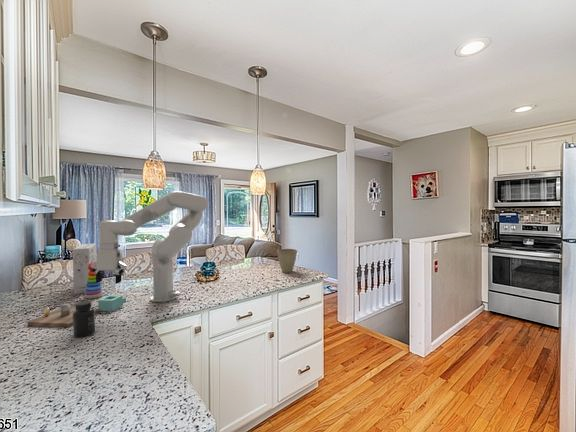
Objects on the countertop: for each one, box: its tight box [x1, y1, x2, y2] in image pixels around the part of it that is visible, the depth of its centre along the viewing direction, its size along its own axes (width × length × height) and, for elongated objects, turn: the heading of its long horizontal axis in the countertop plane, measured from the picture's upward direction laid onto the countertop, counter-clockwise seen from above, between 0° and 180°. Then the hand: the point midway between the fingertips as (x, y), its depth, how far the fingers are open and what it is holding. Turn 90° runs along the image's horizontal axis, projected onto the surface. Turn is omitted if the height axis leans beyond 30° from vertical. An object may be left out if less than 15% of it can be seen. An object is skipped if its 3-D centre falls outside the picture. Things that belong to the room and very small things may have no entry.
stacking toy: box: [84, 262, 103, 300], centre depth 149 cm, size 8×8×19 cm
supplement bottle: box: [72, 300, 96, 338], centre depth 106 cm, size 7×7×12 cm
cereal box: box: [72, 243, 98, 294], centre depth 165 cm, size 22×8×25 cm, turn 25°
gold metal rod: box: [44, 306, 50, 317], centre depth 119 cm, size 1×1×4 cm
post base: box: [27, 303, 100, 328], centre depth 121 cm, size 18×16×6 cm
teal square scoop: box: [97, 294, 127, 312], centre depth 136 cm, size 13×7×5 cm, turn 175°
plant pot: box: [276, 248, 298, 273], centre depth 207 cm, size 15×15×16 cm
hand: (108, 282), depth 132 cm, fingers open, 9 cm apart
